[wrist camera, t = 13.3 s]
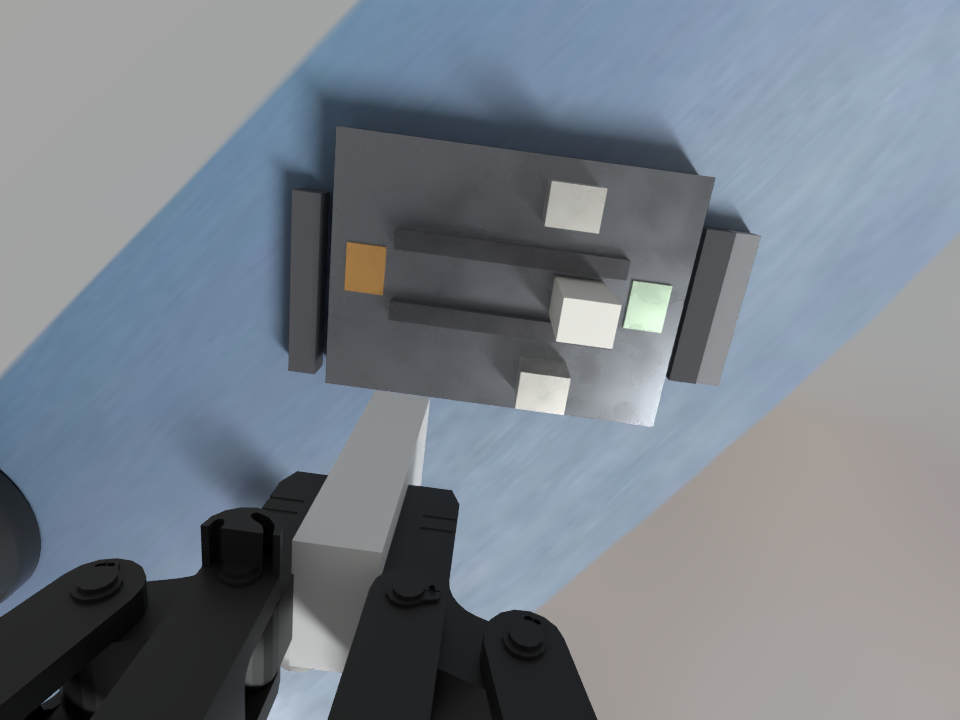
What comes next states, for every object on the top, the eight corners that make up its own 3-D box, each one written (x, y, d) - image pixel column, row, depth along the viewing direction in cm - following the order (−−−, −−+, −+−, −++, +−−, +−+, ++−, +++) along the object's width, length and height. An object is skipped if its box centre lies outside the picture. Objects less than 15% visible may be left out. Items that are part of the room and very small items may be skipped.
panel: (337, 367, 42) (311, 400, 36) (349, 128, 36) (320, 123, 31) (642, 408, 42) (664, 448, 36) (699, 175, 37) (734, 179, 31)
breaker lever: (548, 312, 37) (556, 341, 31) (554, 274, 36) (564, 297, 30) (595, 319, 37) (612, 349, 31) (603, 281, 36) (621, 305, 30)
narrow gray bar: (662, 370, 41) (669, 380, 39) (698, 225, 38) (707, 229, 36) (710, 377, 41) (719, 386, 39) (750, 233, 38) (762, 236, 36)
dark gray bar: (297, 361, 42) (288, 370, 40) (301, 188, 38) (291, 189, 36) (322, 365, 42) (314, 374, 40) (329, 191, 38) (321, 193, 36)
